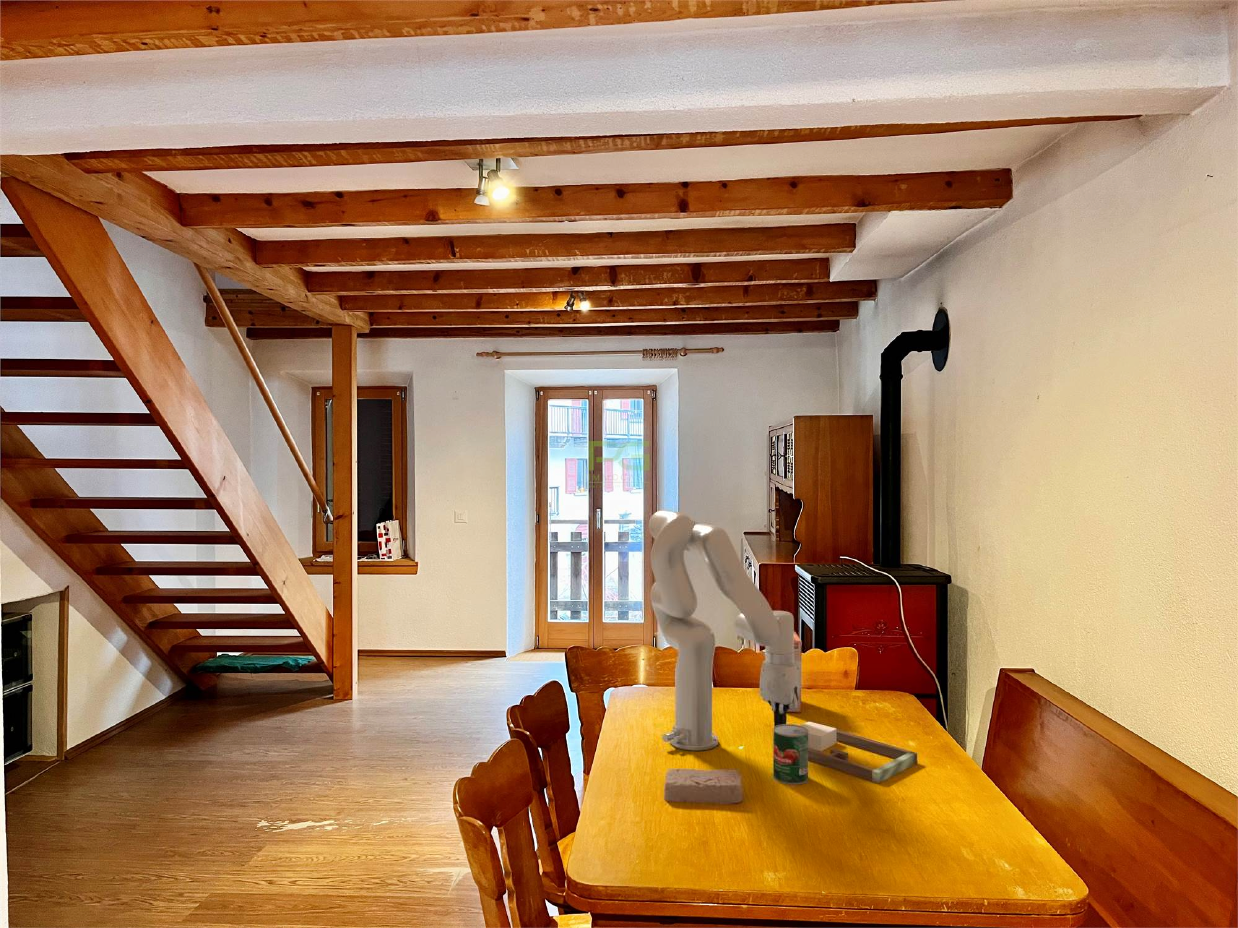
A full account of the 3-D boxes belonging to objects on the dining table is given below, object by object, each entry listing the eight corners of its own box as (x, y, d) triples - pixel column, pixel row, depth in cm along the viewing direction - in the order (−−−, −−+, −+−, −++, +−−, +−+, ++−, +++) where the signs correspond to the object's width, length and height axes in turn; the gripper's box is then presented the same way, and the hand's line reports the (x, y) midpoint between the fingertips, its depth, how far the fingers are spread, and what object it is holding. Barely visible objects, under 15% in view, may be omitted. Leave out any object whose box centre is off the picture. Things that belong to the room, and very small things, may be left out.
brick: (664, 802, 161) (664, 780, 162) (665, 786, 170) (665, 765, 170) (742, 806, 160) (743, 784, 160) (740, 790, 168) (740, 768, 168)
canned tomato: (770, 781, 172) (770, 732, 172) (775, 768, 179) (775, 722, 179) (806, 786, 169) (806, 737, 169) (810, 773, 176) (810, 726, 176)
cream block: (821, 752, 190) (821, 736, 190) (792, 744, 196) (792, 728, 196) (836, 744, 196) (836, 728, 196) (808, 736, 202) (808, 721, 202)
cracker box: (802, 713, 220) (802, 640, 220) (781, 712, 220) (781, 640, 221) (796, 698, 234) (796, 630, 234) (776, 698, 234) (776, 630, 235)
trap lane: (878, 783, 171) (878, 772, 171) (776, 749, 192) (775, 739, 192) (917, 762, 183) (917, 752, 183) (816, 732, 204) (816, 723, 204)
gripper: (748, 655, 207) (749, 722, 207) (794, 665, 196) (795, 736, 196) (765, 650, 212) (766, 716, 212) (811, 660, 201) (812, 730, 201)
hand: (780, 726), depth 204 cm, fingers closed
